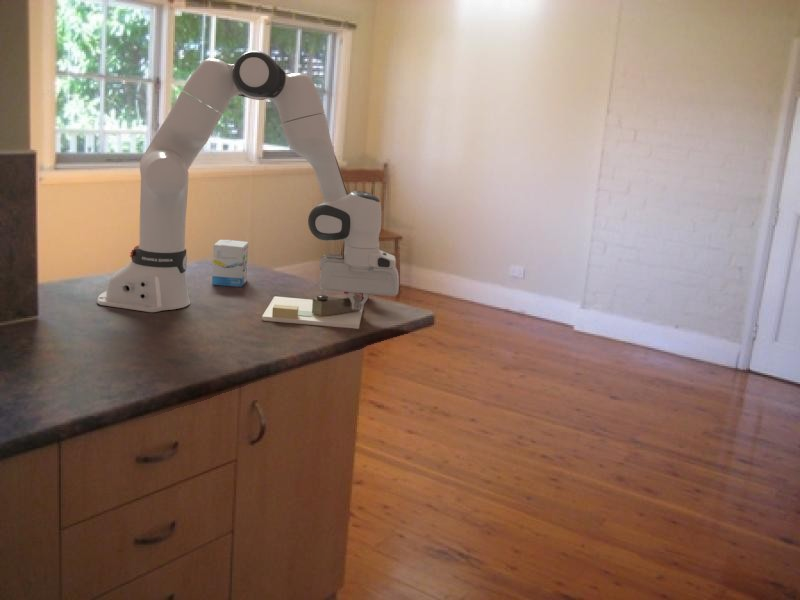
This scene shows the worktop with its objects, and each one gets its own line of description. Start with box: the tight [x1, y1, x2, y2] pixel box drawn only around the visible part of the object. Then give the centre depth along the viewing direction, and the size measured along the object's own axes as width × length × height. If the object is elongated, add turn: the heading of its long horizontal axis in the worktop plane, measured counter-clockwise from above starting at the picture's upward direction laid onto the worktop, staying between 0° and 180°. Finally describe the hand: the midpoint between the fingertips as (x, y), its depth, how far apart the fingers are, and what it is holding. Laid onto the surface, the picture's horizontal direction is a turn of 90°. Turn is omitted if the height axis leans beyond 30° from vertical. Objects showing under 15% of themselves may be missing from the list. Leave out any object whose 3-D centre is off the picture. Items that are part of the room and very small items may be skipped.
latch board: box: [261, 295, 364, 330], centre depth 225 cm, size 24×20×4 cm
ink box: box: [211, 239, 249, 288], centre depth 248 cm, size 8×8×12 cm
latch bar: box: [312, 293, 363, 316], centre depth 224 cm, size 14×4×5 cm, turn 134°
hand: (357, 309), depth 224 cm, fingers closed
